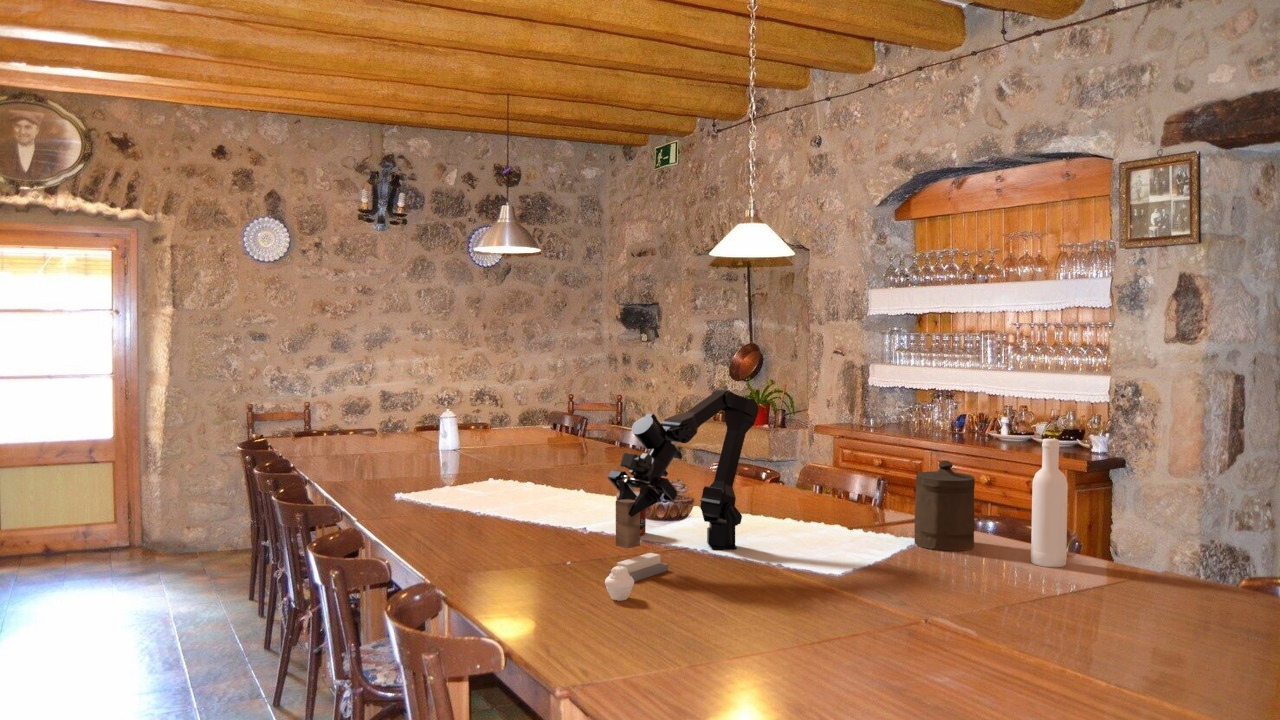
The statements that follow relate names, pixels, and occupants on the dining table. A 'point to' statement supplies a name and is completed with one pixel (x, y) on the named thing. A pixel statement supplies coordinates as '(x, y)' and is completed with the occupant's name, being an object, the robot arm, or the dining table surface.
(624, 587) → the muffin
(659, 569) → the ridge block
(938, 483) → the wooden container
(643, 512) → the canned food
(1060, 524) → the bottle
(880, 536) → the dining table surface
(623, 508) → the tall brown block
